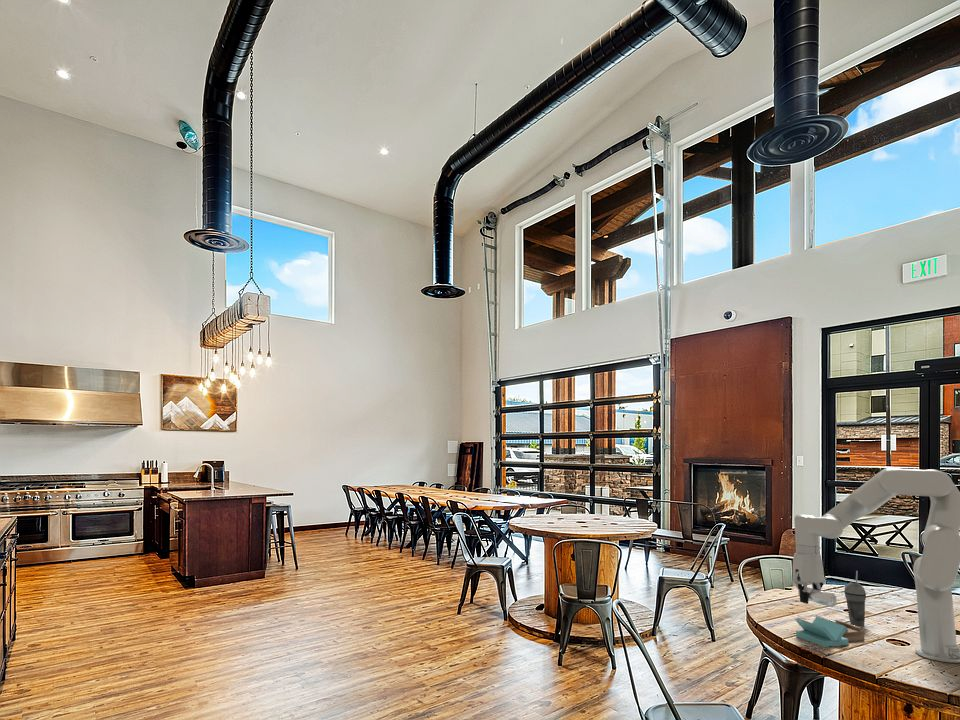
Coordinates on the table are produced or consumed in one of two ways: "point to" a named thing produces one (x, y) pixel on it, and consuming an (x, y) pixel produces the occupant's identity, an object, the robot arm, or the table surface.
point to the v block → (822, 632)
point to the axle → (821, 597)
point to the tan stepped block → (851, 631)
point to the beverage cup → (855, 602)
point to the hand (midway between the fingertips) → (810, 601)
